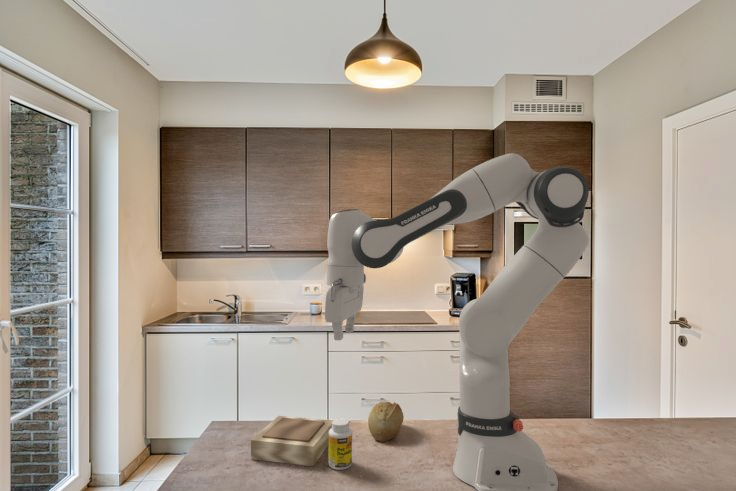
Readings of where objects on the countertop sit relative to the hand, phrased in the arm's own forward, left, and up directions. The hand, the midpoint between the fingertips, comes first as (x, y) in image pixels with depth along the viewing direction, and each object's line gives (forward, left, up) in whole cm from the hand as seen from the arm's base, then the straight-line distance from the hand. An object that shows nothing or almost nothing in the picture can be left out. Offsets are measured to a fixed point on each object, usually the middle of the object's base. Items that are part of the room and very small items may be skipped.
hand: (344, 335), depth 107 cm
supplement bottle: (+1, +1, -31) cm, 31 cm away
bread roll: (-6, -20, -31) cm, 37 cm away
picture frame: (+15, -5, -30) cm, 34 cm away
